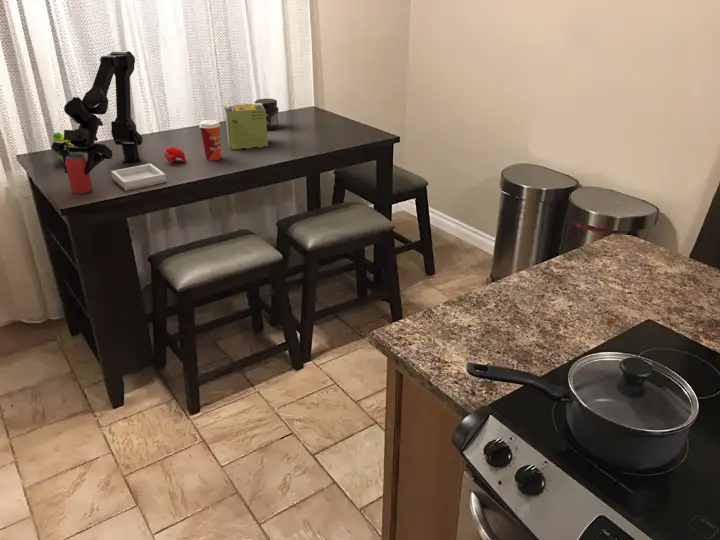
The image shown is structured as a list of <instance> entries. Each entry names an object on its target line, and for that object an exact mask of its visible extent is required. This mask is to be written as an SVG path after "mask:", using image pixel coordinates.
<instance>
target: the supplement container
mask: <svg viewBox="0 0 720 540" xmlns="http://www.w3.org/2000/svg"><path fill="white" fill-rule="evenodd" d="M255 103H262V105H263V106H264V108H265V111H266V125H267V130H269V131H274V130H273V129H275V130H277V129H279V127H280V119H279V118H280V115H279V114H280V113H279V107H278V100H276V99H274V98H259V99H257V100H255V101H254V104H255Z"/></svg>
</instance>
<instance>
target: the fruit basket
mask: <svg viewBox="0 0 720 540" xmlns="http://www.w3.org/2000/svg"><path fill="white" fill-rule="evenodd" d="M52 140H53V142H55V141H57V142H65V143H67V144H68V145H69V146H74V145H73V144H71V143H70V141H69V140H64V133H61V132H58V131H57V132H54V133H53V136H52ZM57 154H58V153H57ZM73 154H83V153H77V152H73ZM58 156H59V157H60V159H61V161H62V163H63V164H64V161H63V157H62V156H60V155H59V154H58Z"/></svg>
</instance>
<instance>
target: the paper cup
mask: <svg viewBox="0 0 720 540" xmlns="http://www.w3.org/2000/svg"><path fill="white" fill-rule="evenodd" d="M220 126H221V124H220V122H219V121H218V120H217V119H216V120H215V119H207V120H206V119H205V120H202V121H200V123H199V128H200V134H201V138H202V144H203V148H204V154H205V160H207V161H219V160H221V158H222V150H221V130H220V128H221V127H220Z"/></svg>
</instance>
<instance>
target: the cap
mask: <svg viewBox="0 0 720 540" xmlns="http://www.w3.org/2000/svg"><path fill="white" fill-rule="evenodd" d="M164 157H165V159H166V160H167V162H168V163H169V165H171V166H172V165H173V162H174V161H176V160H177V158H179V159H180V160H182V161H183V162H184V163H187V159H186V154H185V153H184V151H183V150H182V149H180V148H178V147H175V146H168V147H167V148H165V151H164Z"/></svg>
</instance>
